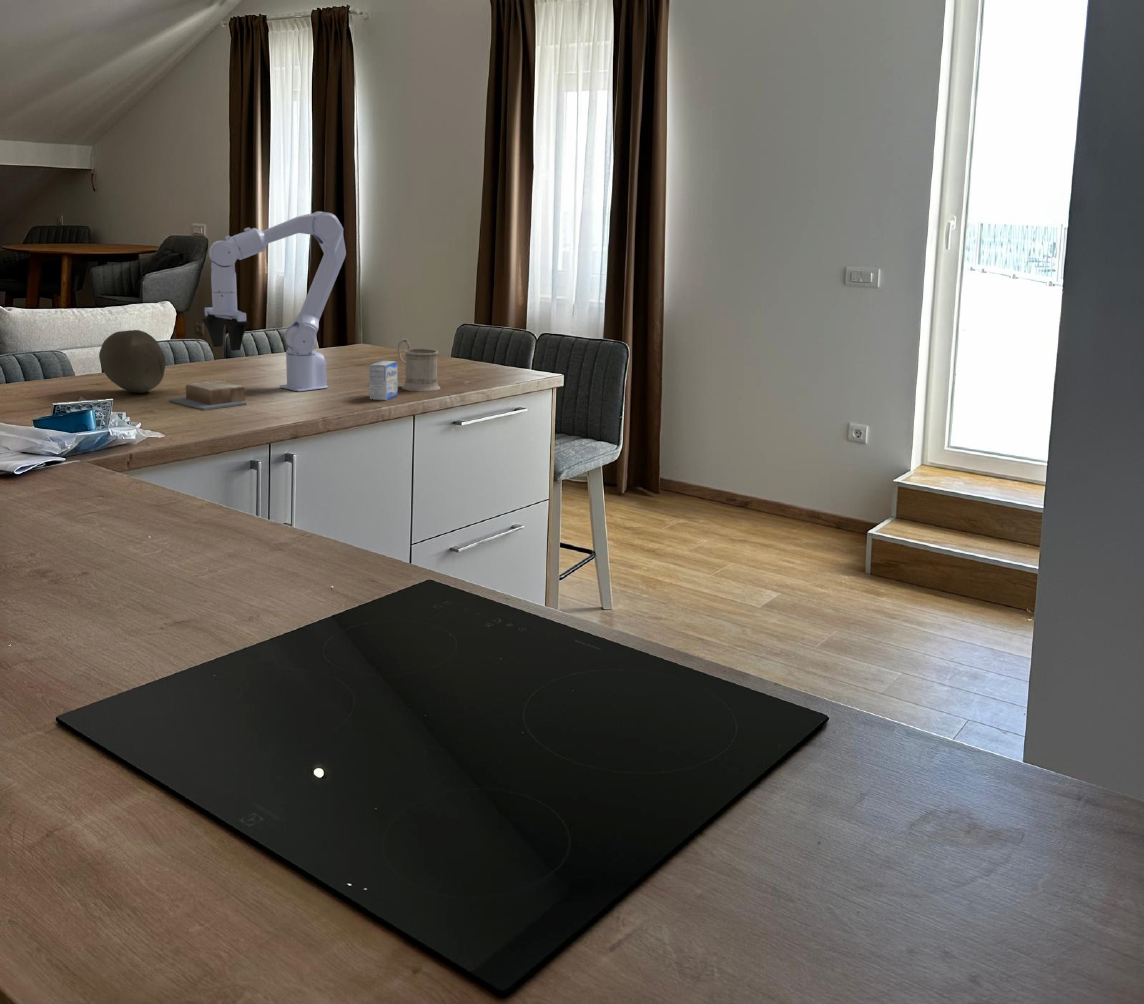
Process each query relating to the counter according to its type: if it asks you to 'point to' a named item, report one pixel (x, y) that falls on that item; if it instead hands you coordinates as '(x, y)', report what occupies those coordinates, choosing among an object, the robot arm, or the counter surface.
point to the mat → (204, 406)
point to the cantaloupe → (132, 360)
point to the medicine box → (383, 380)
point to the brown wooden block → (215, 392)
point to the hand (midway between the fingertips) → (226, 348)
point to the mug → (420, 369)
